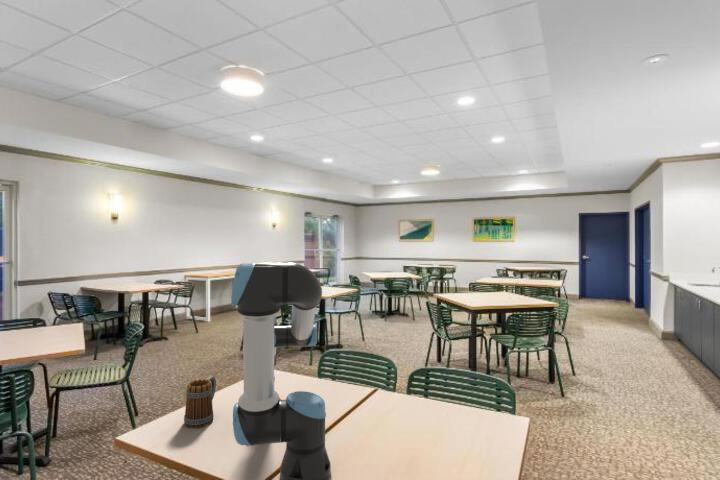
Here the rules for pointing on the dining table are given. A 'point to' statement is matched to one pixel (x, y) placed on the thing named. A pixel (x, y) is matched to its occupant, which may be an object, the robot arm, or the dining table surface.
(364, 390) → the dining table surface
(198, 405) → the mug
